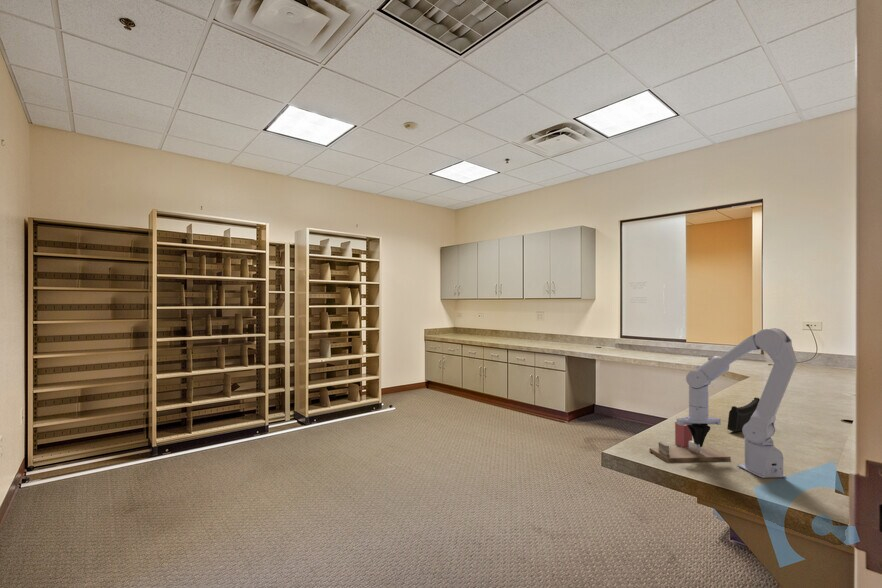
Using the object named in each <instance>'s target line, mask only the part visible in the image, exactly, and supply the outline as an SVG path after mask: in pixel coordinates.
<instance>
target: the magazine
mask: <svg viewBox="0 0 882 588" xmlns="http://www.w3.org/2000/svg"><path fill="white" fill-rule="evenodd" d="M759 400H760V397H754V398H753V400H751V401H750V402H749V403H747V404H746V405H743V406H739V407H737V406H735V405H734V406H731V409H730V410H729V412H728V420H727V431H731V432H742V428H743V426H744V425H745V424H746V423H747V422H749V420H750V418H751V416H752V415H753V413H754V412H755V410H756V408H757V406H758V403H759Z"/></svg>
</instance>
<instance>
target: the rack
mask: <svg viewBox="0 0 882 588" xmlns="http://www.w3.org/2000/svg"><path fill="white" fill-rule="evenodd" d="M651 452H652V453H651ZM649 453H651V454H653V455H655V456H656V455H657V456H656V457H658V458H659V459H661V460H663V461H665V462H667V463H681V462H682V463H684V462H685V463H687V462H691V463H692V462H715V461H716V462H719V461H721V462H722V461H723V462H725V461H731V460H732V459H731V457H732V456H730V455H728V454H725V453H723V452H721V451H719V450H717V449H715V448H713V447H710V446H702V447H700V454H696V453H694V452H692V451H690V450H689V447H681V446H679V447H677V446H676V447H670V445H668V444H667V443H664V442H663V441H658V447H650V448H649Z"/></svg>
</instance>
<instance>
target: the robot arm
mask: <svg viewBox="0 0 882 588" xmlns="http://www.w3.org/2000/svg"><path fill="white" fill-rule="evenodd" d="M759 350H762V351H763V352H765V353H766V354H768V356H769V357H770V359H771V360H772V362H773V366H772V368H771V370H770V373H769V376H768V378H767V381H766V383H765V385H764V389H763V391H762V393H761V396H760V397H759V399H760V400H759V403H758V406H757V408H756V410H755V412H754V413H753V415H752V416H751V418H750V420H749V422H747V423H746V424H745V425H744V426H743V428H742V431H741V433H742V436H744V464H743V463H741V464H737V467H739V468H741V469H742V470H745V471H747V472H749V473H751V474H753V475H755V476H758V477H760V478H764V479H765V478H767V479H769V478H786V477H787V475H786V474H784V455H783V452H782V451H781V450H780V449H779V448H777V447H776V446H775V444H774V440H773V438H772V437H773V436H774V434H775V432H776V427H775V423H776V420H777V419H776V415H777V412H778V410H779V408H780V404H781V402H782V400H783V398H784V396H785V393H786V390H787V388H788V386H789V383H790V381H791V378H792V376H793V373H794V370H795V368H796V366H797V364H798V363H797V362H798V361H797V360H798V359H797V355H796V354H795V351H794V350H795V349H794V347H793V342H792V339H791V338H790V336H789V335H788V334H787V333H786V332H785V331H784V330H782V329H780V328H776V327H775V328H765V329H761V330H759V331H758V332H757V333H754V334H751V335H750V336H748V337H747V338H745V339H743V340H742V341H741V342H738V344H737V345H736V346H734V347H733V348H731V349H730V350H728V351H727V352H726V353H725V354H723V355H722V356H719V355H714V356H709V357H707V361H706V362H704V363H703V364H700V365H697V366H695V368H696V370H695V369H694V370H690V371H689V372H688V373H687V374H686V377H685V381H686V383H687V384H688V416H686V417H685V416H684V417H677V418H676V422H677V424H678V425H687V426H688V428H689V429H690V431H691V434H692V440H693V441H694V442H696V443H698V444H700V447H704V446H703V445H704V442H705V439H706V437H707V435H708V434H709V432H710V431H711V426H710V425H717V426H720V425H721V423H722V422H721V419H720V418H718V417H709V385H710V384H711V383H712V381H715V380H716V379H718V378H719V377H721V376H722V375H724V374H726V373H727V372H729V370H730V365H731V364H733V363H734V362H735V361H738V359H741V358H742V357H744V356H746V354H748V353H750V352H752V351H759Z"/></svg>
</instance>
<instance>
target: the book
mask: <svg viewBox="0 0 882 588" xmlns="http://www.w3.org/2000/svg"><path fill="white" fill-rule="evenodd" d="M674 435H675V436H674V441H675V442H674V444H675V443H676V444H675V445H677V444H678V445H677V446H679V445H680V446H679V447H681V446H682V447H689V441H693V436H692V434H691V431H690V429H689V428H688V426H687V425H678V424H677V421H675V422H674Z"/></svg>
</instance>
